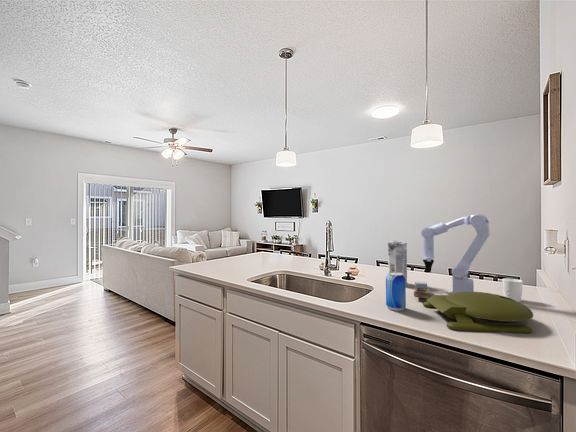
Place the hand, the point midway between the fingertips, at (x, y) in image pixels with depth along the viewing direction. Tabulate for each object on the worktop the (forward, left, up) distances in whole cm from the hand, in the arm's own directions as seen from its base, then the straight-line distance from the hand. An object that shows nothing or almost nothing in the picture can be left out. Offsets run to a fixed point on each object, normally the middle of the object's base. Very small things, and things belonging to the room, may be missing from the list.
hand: (428, 272), depth 159 cm
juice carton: (+17, -8, -10) cm, 21 cm away
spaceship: (-17, +41, -11) cm, 45 cm away
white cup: (-37, +6, -10) cm, 39 cm away
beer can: (+15, +42, -10) cm, 46 cm away
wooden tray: (+4, +16, -10) cm, 19 cm away
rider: (+4, +16, -6) cm, 18 cm away
